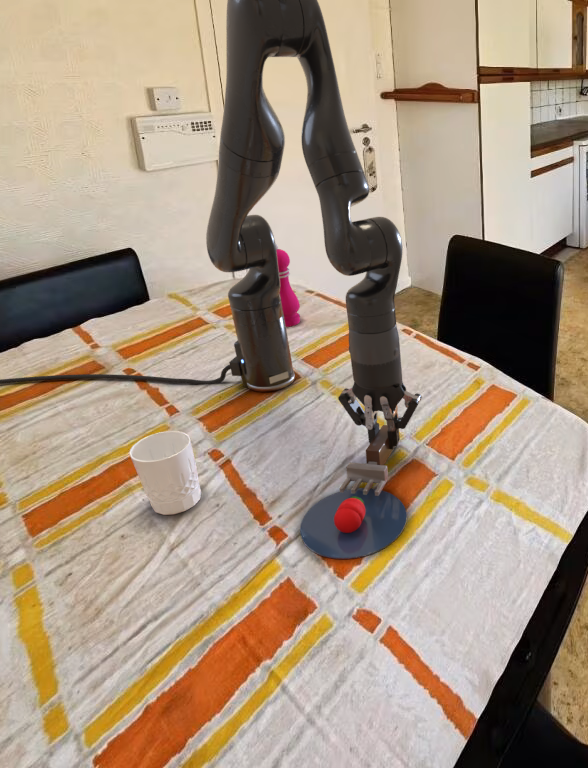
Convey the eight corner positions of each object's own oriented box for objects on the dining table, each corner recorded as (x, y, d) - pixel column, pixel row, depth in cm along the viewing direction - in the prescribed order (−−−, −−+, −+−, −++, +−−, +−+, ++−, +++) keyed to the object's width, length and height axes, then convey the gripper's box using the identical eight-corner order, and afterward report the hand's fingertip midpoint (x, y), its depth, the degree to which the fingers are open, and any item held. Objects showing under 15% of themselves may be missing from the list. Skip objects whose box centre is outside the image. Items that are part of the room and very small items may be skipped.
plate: (282, 553, 84) (282, 552, 84) (323, 485, 97) (323, 484, 97) (390, 564, 82) (390, 563, 82) (417, 493, 95) (417, 492, 95)
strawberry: (332, 538, 86) (327, 516, 85) (345, 512, 91) (341, 491, 89) (358, 539, 86) (354, 517, 84) (370, 513, 91) (366, 492, 89)
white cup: (186, 478, 99) (170, 425, 94) (216, 496, 95) (201, 441, 90) (137, 505, 93) (118, 449, 88) (167, 525, 89) (148, 468, 84)
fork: (373, 442, 107) (372, 423, 105) (407, 445, 106) (406, 426, 105) (339, 492, 92) (337, 471, 91) (378, 496, 91) (377, 474, 90)
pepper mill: (293, 329, 151) (280, 248, 141) (266, 327, 152) (251, 246, 143) (307, 318, 157) (295, 239, 148) (281, 316, 158) (267, 238, 149)
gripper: (425, 344, 97) (430, 437, 106) (340, 339, 99) (352, 430, 107) (413, 365, 91) (419, 462, 99) (322, 359, 93) (336, 455, 101)
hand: (384, 445), depth 103 cm, fingers closed on fork, 2 cm apart
